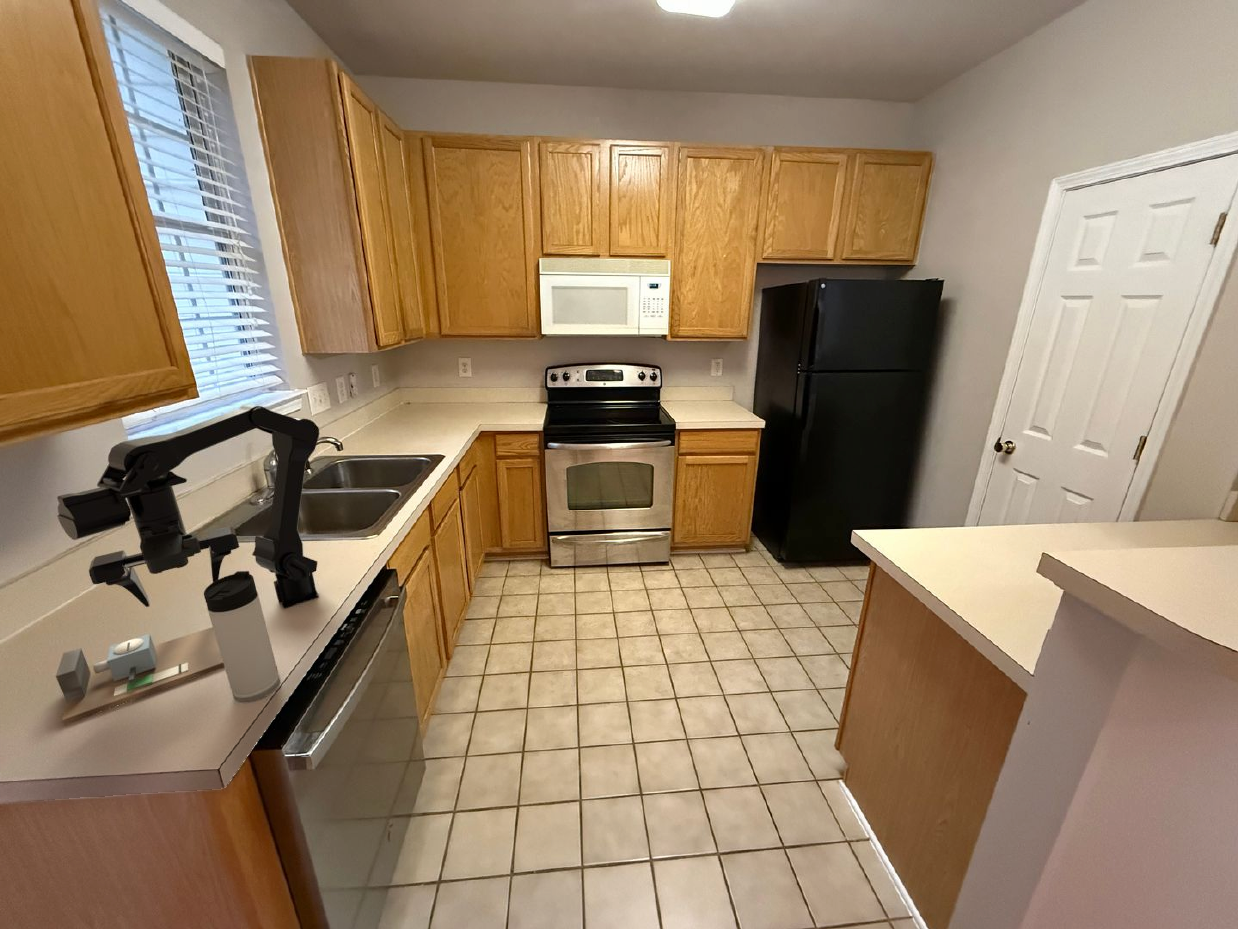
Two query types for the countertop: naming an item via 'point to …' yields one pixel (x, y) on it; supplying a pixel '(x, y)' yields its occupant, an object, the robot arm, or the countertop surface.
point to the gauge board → (102, 692)
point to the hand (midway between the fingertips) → (183, 595)
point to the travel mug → (242, 636)
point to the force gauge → (129, 658)
